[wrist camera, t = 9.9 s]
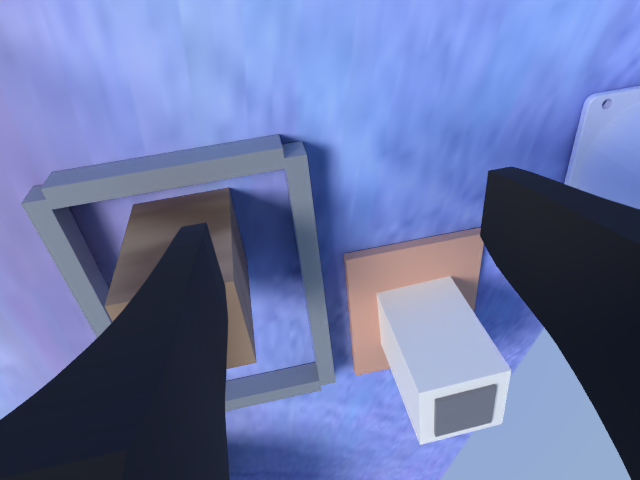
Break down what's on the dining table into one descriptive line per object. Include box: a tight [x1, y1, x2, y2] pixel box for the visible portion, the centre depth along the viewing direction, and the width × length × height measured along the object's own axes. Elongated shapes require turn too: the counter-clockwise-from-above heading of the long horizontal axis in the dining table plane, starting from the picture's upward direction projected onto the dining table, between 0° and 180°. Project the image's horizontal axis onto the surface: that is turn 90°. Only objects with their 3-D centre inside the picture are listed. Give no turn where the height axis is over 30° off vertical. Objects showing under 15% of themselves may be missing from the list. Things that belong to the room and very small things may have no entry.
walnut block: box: [105, 188, 256, 369], centre depth 20 cm, size 4×4×7 cm
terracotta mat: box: [344, 227, 484, 376], centre depth 29 cm, size 8×10×1 cm
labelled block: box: [377, 276, 511, 445], centre depth 25 cm, size 4×4×7 cm
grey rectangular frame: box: [21, 134, 335, 411], centre depth 25 cm, size 12×17×2 cm
